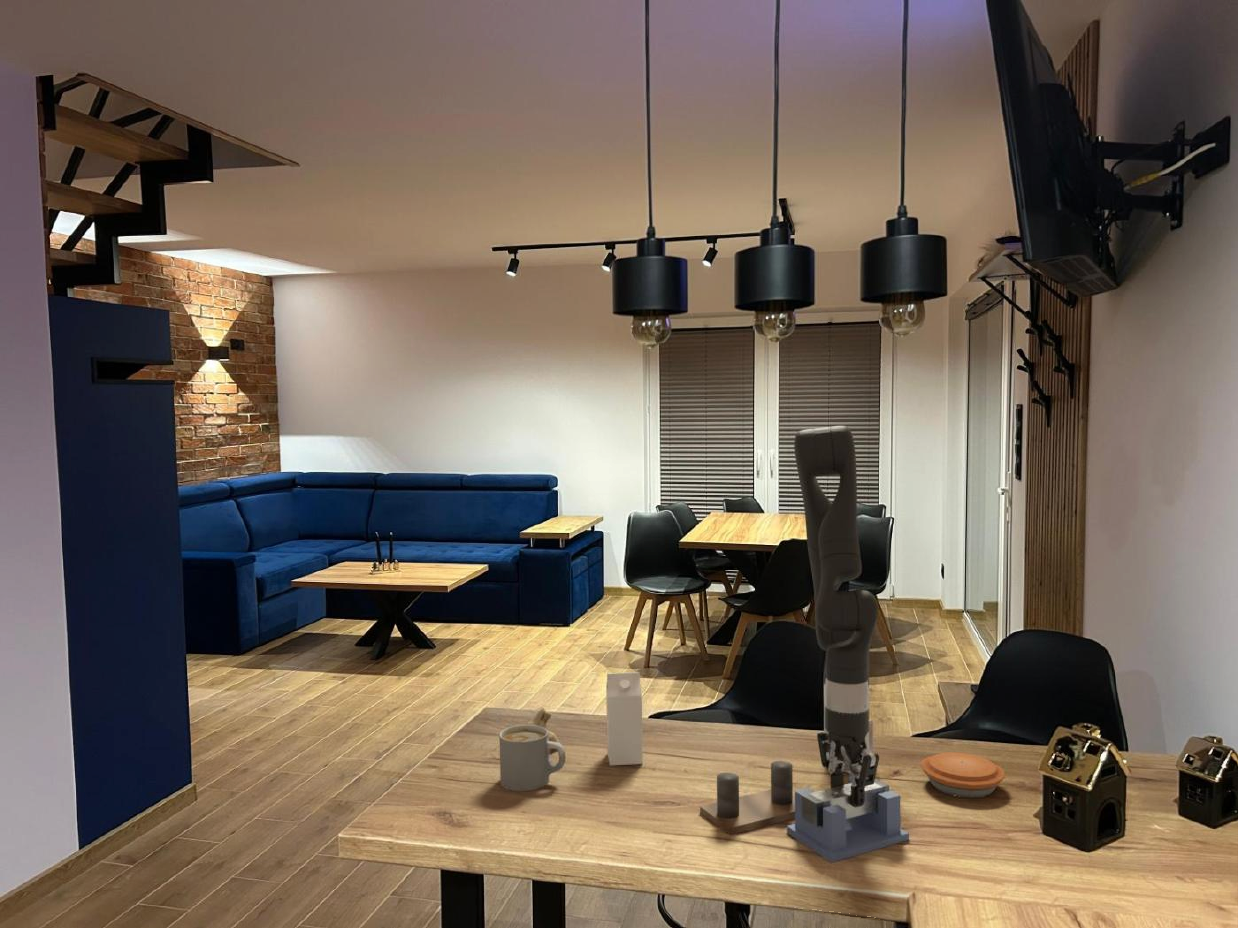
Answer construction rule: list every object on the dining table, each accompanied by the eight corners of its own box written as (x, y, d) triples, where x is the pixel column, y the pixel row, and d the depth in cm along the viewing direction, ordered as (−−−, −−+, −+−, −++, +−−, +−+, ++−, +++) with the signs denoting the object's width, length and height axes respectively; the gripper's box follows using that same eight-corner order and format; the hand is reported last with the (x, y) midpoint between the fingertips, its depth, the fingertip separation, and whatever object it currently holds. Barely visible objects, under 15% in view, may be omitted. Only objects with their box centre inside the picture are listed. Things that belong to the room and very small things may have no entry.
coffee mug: (491, 787, 177) (490, 738, 176) (513, 768, 186) (512, 722, 186) (552, 796, 172) (551, 746, 172) (572, 776, 182) (571, 729, 181)
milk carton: (607, 753, 194) (605, 668, 193) (639, 752, 195) (638, 667, 194) (609, 766, 187) (608, 678, 186) (642, 764, 187) (641, 676, 187)
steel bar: (873, 799, 159) (873, 777, 159) (889, 807, 155) (889, 784, 155) (802, 817, 152) (801, 795, 152) (816, 826, 148) (816, 803, 148)
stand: (779, 793, 172) (778, 753, 172) (811, 813, 163) (811, 771, 163) (700, 812, 164) (699, 770, 164) (729, 834, 155) (728, 790, 155)
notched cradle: (861, 812, 163) (861, 771, 163) (909, 839, 152) (909, 796, 152) (787, 832, 156) (786, 789, 155) (831, 862, 145) (830, 816, 144)
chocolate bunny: (525, 747, 199) (524, 703, 198) (560, 745, 200) (559, 702, 199) (525, 756, 193) (524, 711, 193) (561, 754, 194) (560, 709, 194)
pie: (982, 810, 163) (982, 784, 163) (906, 786, 175) (906, 761, 174) (1018, 787, 173) (1018, 762, 173) (944, 764, 185) (944, 741, 185)
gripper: (892, 712, 148) (892, 811, 149) (836, 689, 161) (837, 781, 162) (857, 719, 145) (858, 821, 146) (803, 696, 158) (804, 789, 158)
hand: (847, 799), depth 154 cm, fingers open, 4 cm apart
